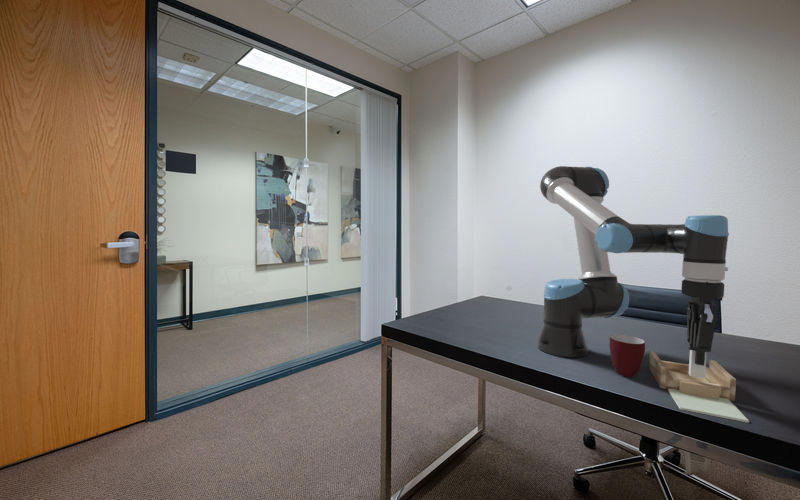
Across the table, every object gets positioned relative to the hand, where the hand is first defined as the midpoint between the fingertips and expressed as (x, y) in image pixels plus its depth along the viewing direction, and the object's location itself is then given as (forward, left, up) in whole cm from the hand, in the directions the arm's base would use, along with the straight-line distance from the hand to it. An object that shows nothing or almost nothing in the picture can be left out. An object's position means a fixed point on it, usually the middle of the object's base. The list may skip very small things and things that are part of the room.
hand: (696, 375), depth 80 cm
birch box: (0, +7, -5) cm, 8 cm away
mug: (-14, +7, -5) cm, 16 cm away
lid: (0, -6, -5) cm, 8 cm away
